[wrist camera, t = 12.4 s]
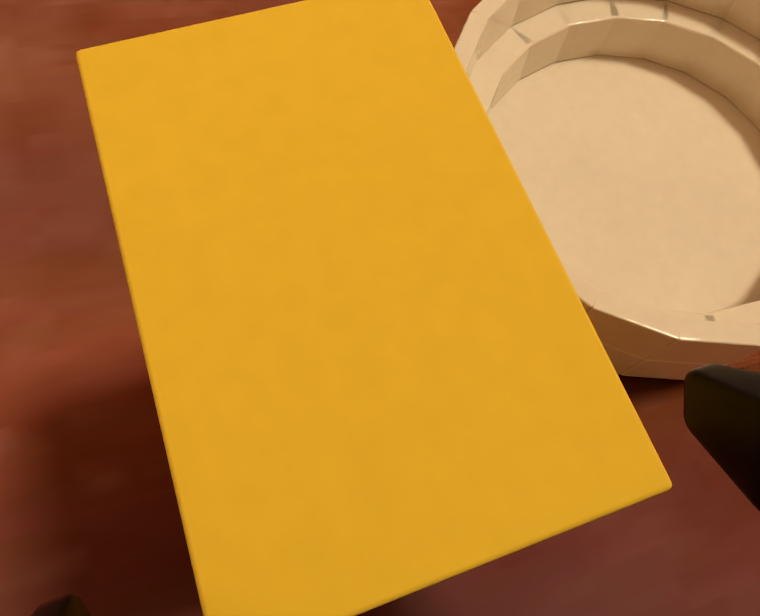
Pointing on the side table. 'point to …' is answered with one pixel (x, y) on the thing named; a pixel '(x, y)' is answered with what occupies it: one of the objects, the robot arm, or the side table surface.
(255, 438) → the sponge
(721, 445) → the robot arm
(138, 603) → the side table surface
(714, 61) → the bowl
